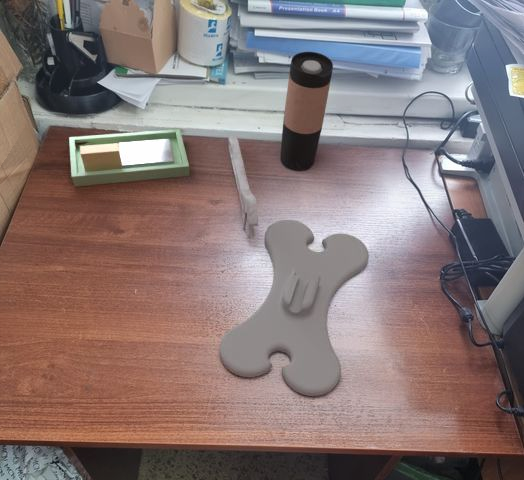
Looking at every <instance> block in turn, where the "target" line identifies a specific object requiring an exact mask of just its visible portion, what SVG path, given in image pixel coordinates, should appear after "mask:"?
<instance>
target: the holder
mask: <svg viewBox="0 0 524 480" xmlns="http://www.w3.org/2000/svg"><path fill="white" fill-rule="evenodd" d="M263 239H264V240H263V242H264V246H265V248H266V250H267V252H268V253H269V256H270V259H271V262H272V269H273V279H272V284H271V287H270V290H269V292H268V295H267V297H266V298H265V300H264V301H263V303H262V304H261V306H259V308H258V309H257V310H256V311H255V312H254V313H252V315H250V316H249V317H248V318H247V319H245V320H243V321H241V323H239V324H237V325H235V326H234V327H231V328H230V329H228V331H226V332H225V333H224V335H223V336H222V337H221V340H220V342H219V347H218V354H219V359H220V361H221V363H222V364H223V366H224V367H225V368H226V369H227V370H228V371H229V372H230V373H233V374H234V375H236V376H240V377H243V378H255V377H258V376H262V375H264V374H266V373H267V372H269V371H270V370H271V369H272V368H273V364H272V363H271V361H270V356H271V354H273V353H275V352H282V353H285V354H286V355H287V356H288V357H289V358H290V362H289V364H287V365H286V366H282V367H281V374H282V377H283V380H284V381H285V383H286V384H287V385H288V387H289V388H291V389H292V390H293V391H295V392H297V393H298V394H301V395H304V396H308V397H318V396H322V395H325V394H328V393H329V392H330V391H332V390H333V389H335V387H336V386H337V385H338V383H339V380H340V378H341V374H342V365H341V361H340V359H339V358H338V356H337V354H336V352H335V349H334V347H333V345H332V341H331V340H330V336H329V330H328V310H329V307H330V303H331V301H332V298H333V297H334V295H335V294H336V292H337V291H338V289H339V288H340V287H341V286H342V285H343V284H344V283H345V282H346V281H347V280H349V279H350V278H352V277H353V276H355V275H357V274H358V273H360V272H362V271H363V270H364V269H365V268H366V266H367V264H368V261H369V257H370V254H369V250H368V248H367V246H366V244H365V243H364V242H363V241H362V240H361V239H359V238H358V237H356V236H354V235H351V234H348V233H333V234H329V235H327V236H326V237H324V238H323V239H322V241H321V245H322V246H323V247H324V249H323V250H322V251H314V250H312V249H310V248H309V247H308V244H311V243H314V242H315V235H314V232H313V231H312V230H311V228H309V227H308V226H307V225H306V224H304V223H303V222H301V221H298V220H295V219H281V220H277V221H274V222H273V223H271V224H270V225H269V226H268V227H267V229H266V230H265V233H264V238H263Z"/></svg>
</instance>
